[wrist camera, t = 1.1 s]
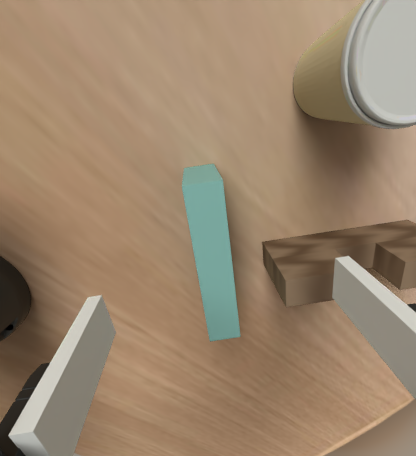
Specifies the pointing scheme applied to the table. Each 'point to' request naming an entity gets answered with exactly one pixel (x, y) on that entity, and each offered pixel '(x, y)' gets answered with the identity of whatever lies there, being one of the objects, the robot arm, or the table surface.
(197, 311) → the table surface
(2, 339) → the robot arm
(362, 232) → the walnut rail
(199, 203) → the teal rectangular block
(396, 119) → the coffee cup
